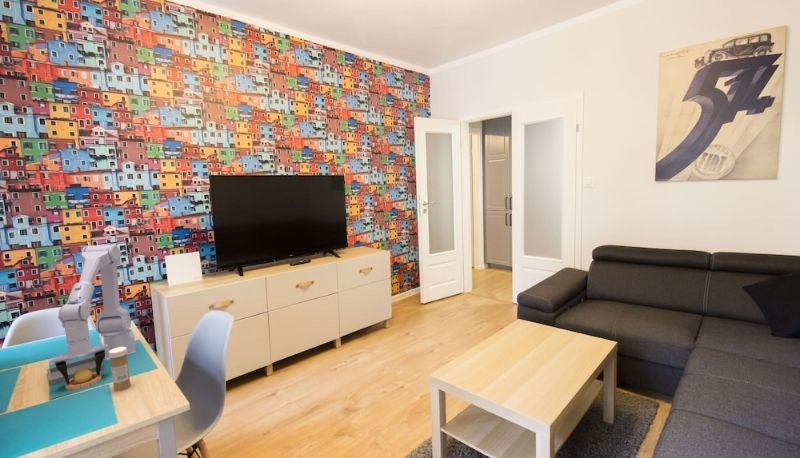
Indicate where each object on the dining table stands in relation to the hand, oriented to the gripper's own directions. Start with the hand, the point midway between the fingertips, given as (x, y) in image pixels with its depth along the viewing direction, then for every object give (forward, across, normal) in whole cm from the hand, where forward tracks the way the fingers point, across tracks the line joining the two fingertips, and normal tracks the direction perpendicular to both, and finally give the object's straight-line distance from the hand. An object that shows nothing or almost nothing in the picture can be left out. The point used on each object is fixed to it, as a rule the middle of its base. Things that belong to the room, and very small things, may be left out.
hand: (83, 378), depth 123 cm
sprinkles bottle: (+2, +8, -14) cm, 16 cm away
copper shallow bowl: (+2, 0, 0) cm, 2 cm away
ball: (+2, 0, 0) cm, 2 cm away
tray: (+2, -1, +12) cm, 12 cm away
